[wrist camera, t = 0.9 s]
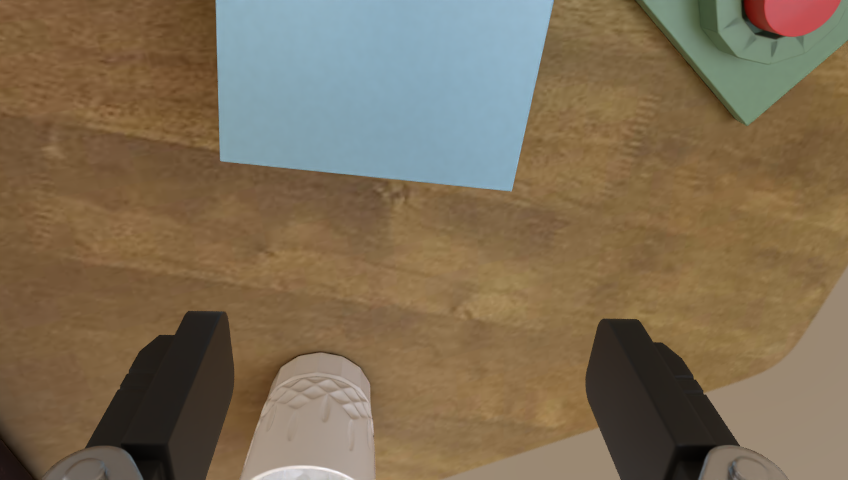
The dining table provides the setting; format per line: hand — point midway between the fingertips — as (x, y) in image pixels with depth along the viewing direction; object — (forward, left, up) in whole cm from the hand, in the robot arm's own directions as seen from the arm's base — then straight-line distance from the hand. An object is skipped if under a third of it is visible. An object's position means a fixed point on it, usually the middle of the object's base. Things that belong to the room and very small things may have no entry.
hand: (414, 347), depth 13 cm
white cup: (+10, -19, -22) cm, 30 cm away
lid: (-5, +4, -13) cm, 14 cm away
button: (+10, +16, -19) cm, 27 cm away
